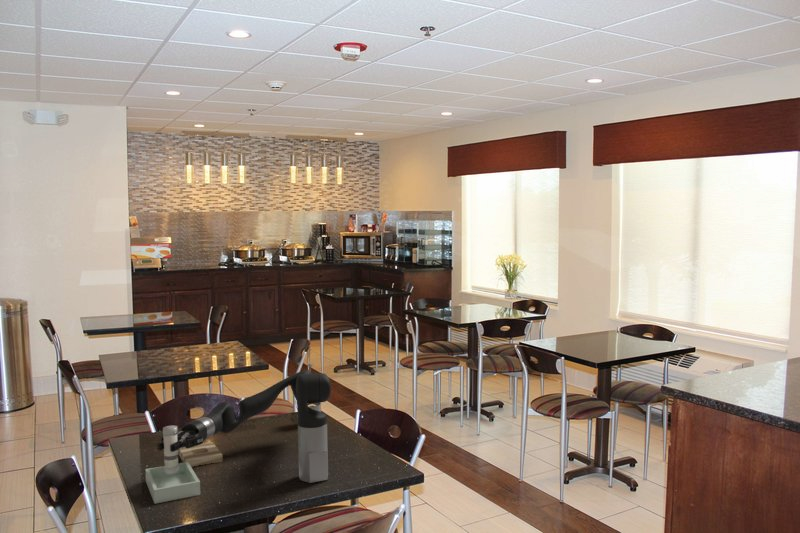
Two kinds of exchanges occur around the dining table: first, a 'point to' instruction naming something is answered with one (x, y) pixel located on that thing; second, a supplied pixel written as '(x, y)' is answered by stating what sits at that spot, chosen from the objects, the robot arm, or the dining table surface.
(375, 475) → the dining table surface
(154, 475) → the parts tray
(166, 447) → the fuse
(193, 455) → the fuse holder
